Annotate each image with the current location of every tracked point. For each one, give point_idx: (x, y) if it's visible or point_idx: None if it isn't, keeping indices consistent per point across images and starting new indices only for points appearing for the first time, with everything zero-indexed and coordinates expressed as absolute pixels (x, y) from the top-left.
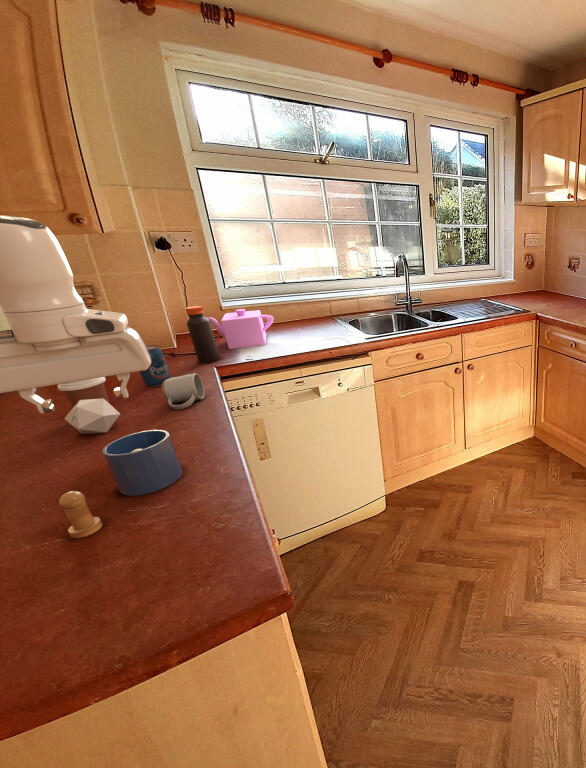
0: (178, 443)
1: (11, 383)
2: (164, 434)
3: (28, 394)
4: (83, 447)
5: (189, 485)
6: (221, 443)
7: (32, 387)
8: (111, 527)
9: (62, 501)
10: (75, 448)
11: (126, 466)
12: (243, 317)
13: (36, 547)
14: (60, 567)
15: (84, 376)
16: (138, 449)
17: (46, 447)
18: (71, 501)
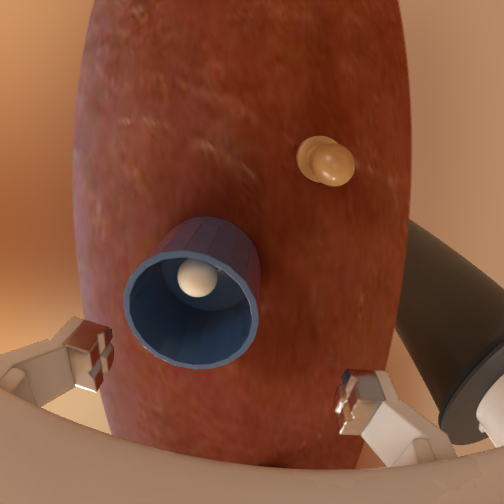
0: (164, 376)
1: (494, 485)
2: (138, 324)
3: (426, 441)
4: (288, 447)
5: (151, 191)
6: (98, 321)
7: (422, 465)
8: (284, 133)
9: (349, 153)
10: (296, 450)
11: (225, 247)
12: None
13: (382, 168)
14: (354, 70)
15: (125, 459)
16: (189, 284)
17: (322, 466)
18: (334, 144)
